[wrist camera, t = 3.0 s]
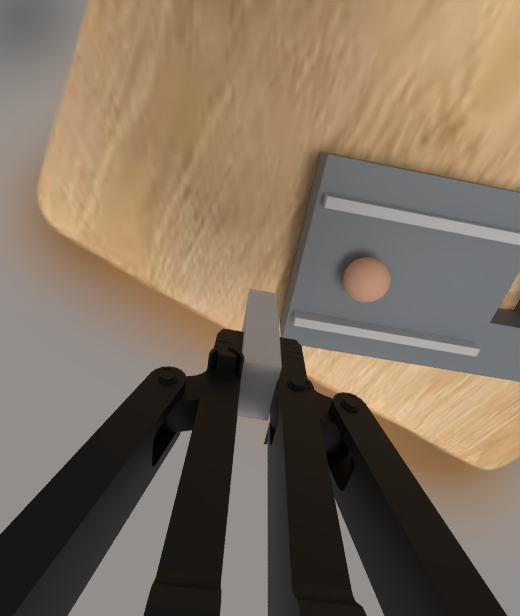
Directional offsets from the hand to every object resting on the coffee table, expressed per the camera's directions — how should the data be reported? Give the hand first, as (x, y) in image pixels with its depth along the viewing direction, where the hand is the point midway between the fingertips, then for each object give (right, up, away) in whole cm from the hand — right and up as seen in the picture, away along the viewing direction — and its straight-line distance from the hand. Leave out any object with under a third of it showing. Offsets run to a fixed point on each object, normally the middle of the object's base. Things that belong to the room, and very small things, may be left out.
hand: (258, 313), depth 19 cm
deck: (+16, +4, +13) cm, 21 cm away
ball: (+8, +2, +7) cm, 11 cm away
